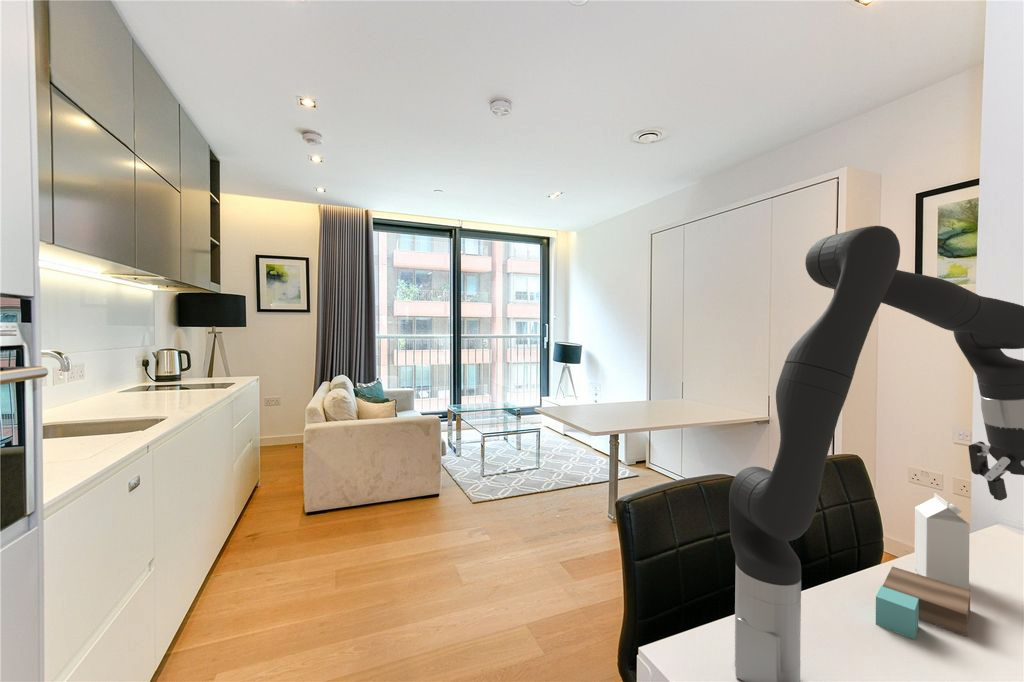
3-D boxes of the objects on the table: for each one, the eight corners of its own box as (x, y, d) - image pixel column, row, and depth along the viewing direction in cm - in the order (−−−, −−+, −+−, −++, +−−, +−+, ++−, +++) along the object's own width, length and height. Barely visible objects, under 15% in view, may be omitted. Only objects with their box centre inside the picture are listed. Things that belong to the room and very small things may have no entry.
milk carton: (926, 583, 96) (926, 500, 96) (914, 568, 102) (914, 490, 102) (969, 592, 93) (970, 506, 93) (954, 576, 99) (955, 495, 99)
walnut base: (966, 636, 79) (967, 614, 79) (882, 605, 88) (882, 586, 88) (969, 609, 86) (970, 590, 86) (892, 583, 96) (892, 566, 96)
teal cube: (914, 640, 78) (914, 610, 78) (875, 624, 82) (875, 596, 82) (918, 627, 81) (918, 598, 81) (880, 612, 85) (881, 585, 85)
